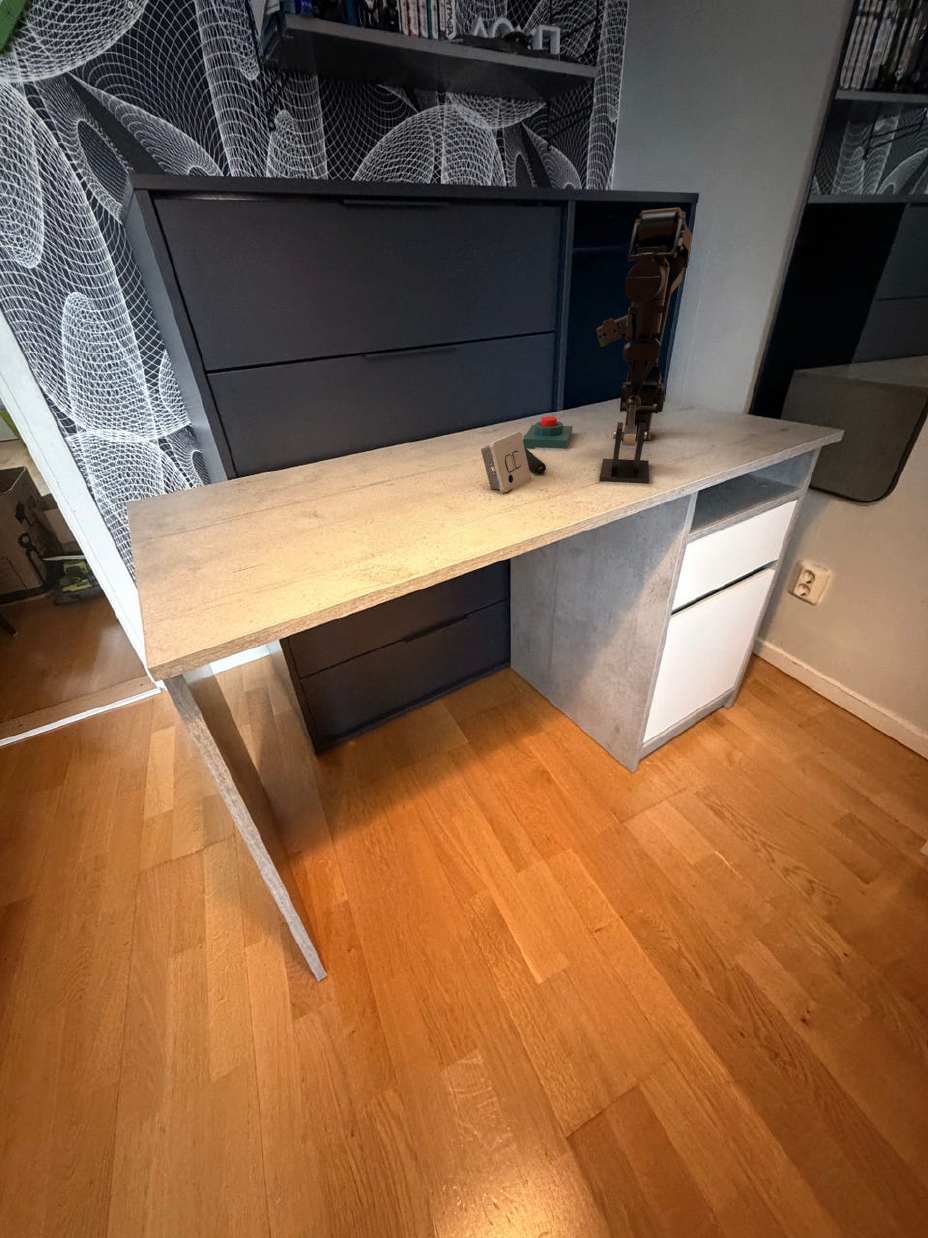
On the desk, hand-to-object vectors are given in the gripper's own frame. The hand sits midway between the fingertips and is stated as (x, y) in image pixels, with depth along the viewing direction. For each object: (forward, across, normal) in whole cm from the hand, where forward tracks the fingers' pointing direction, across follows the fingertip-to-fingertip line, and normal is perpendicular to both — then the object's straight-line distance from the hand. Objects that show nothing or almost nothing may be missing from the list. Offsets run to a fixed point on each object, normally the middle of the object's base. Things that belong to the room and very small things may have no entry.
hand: (634, 392), depth 97 cm
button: (+9, -10, -18) cm, 23 cm away
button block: (+13, -10, -18) cm, 24 cm away
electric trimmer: (+13, +7, -20) cm, 25 cm away
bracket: (+13, +10, 0) cm, 17 cm away
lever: (+5, +5, 0) cm, 7 cm away
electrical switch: (+13, +19, -22) cm, 32 cm away
